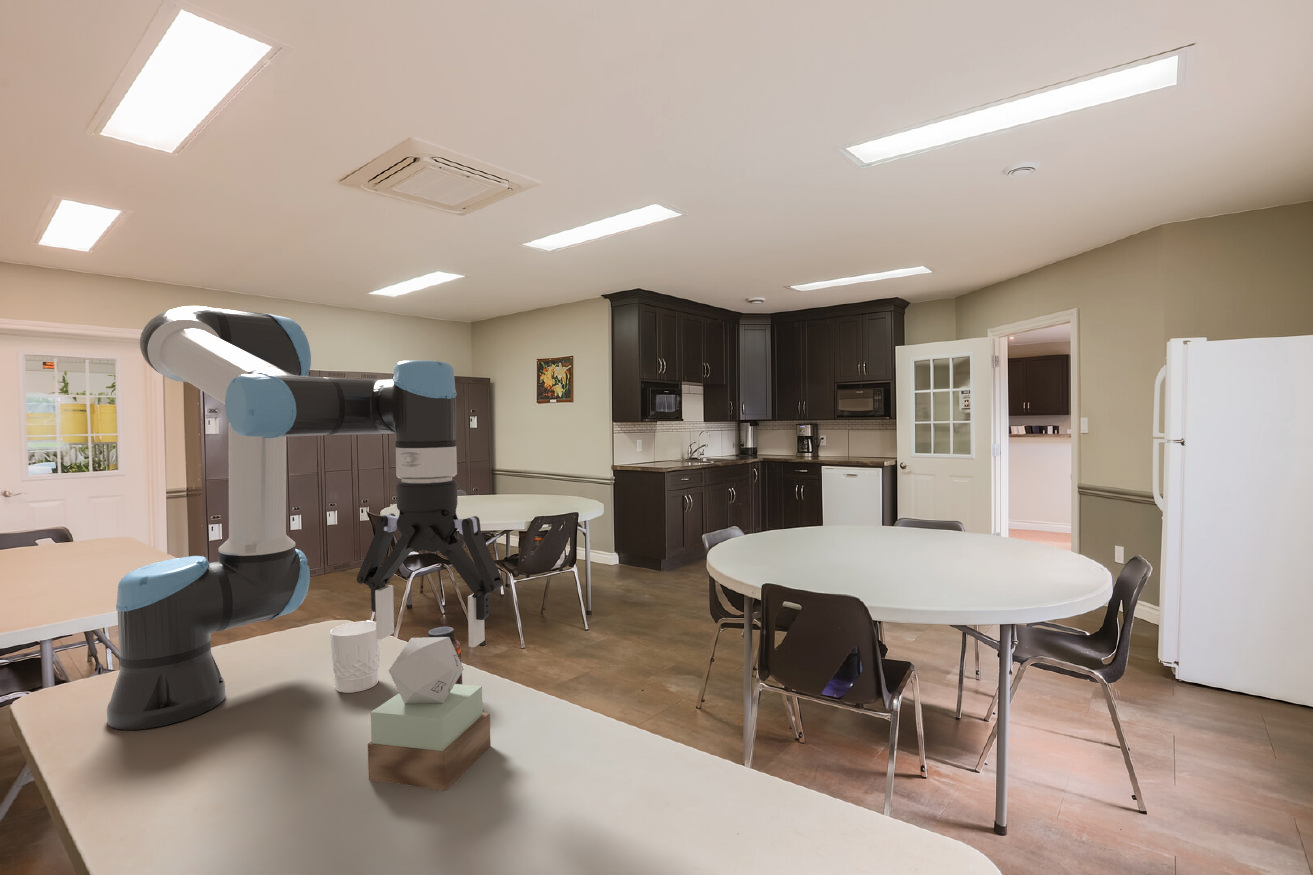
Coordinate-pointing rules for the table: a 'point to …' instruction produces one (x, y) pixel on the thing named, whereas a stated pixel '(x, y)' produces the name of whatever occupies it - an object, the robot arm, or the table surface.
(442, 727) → the sage block
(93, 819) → the table surface
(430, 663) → the die
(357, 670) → the white cup
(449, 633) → the supplement bottle
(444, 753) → the walnut slab
